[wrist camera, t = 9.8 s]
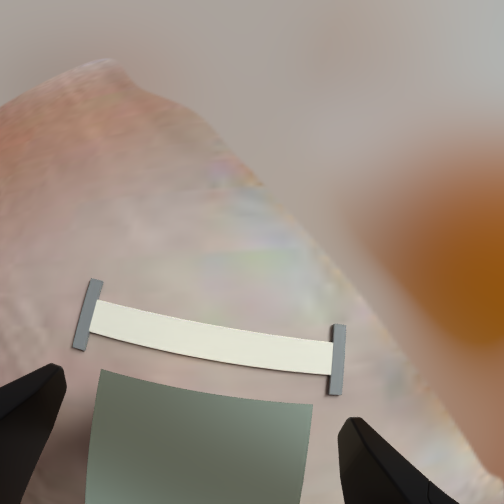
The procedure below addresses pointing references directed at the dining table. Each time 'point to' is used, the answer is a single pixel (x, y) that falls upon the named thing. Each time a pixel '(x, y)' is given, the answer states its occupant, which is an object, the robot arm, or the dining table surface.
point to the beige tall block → (193, 446)
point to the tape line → (211, 340)
